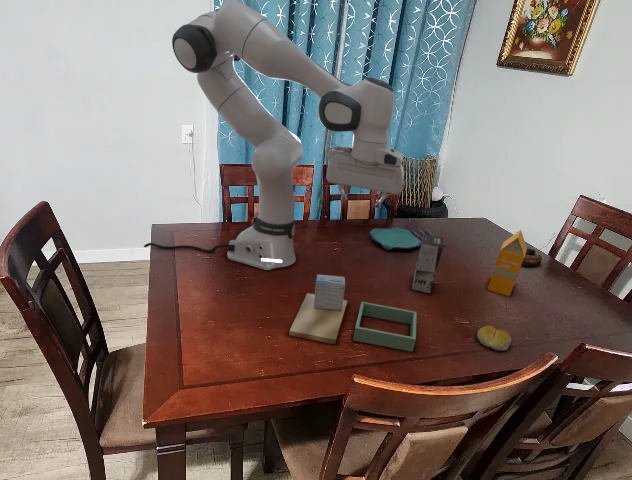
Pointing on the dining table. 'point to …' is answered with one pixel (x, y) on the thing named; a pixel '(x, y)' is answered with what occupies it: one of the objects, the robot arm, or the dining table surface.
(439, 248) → the coffee box
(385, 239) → the teal flat piece
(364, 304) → the bin
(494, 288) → the orange juice
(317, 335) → the board
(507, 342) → the bread roll
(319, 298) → the medicine box
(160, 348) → the dining table surface
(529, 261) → the pastry
